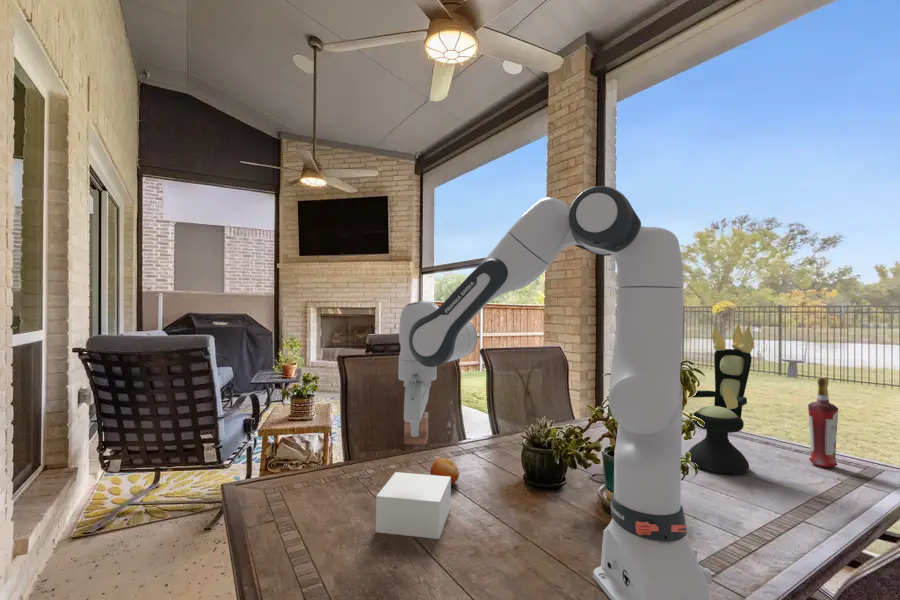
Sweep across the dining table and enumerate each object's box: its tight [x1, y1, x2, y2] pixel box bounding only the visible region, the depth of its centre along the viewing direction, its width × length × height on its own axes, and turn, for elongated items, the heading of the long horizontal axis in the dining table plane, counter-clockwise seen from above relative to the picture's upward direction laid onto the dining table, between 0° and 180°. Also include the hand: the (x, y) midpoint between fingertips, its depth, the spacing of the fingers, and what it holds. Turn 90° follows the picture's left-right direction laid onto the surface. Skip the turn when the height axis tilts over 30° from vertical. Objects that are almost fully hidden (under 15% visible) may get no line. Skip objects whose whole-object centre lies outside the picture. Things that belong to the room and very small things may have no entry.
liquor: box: [807, 376, 839, 469], centre depth 139 cm, size 7×7×28 cm
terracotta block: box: [403, 411, 429, 445], centre depth 100 cm, size 5×5×6 cm
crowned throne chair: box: [687, 323, 755, 475], centre depth 139 cm, size 19×22×45 cm
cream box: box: [375, 471, 452, 540], centre depth 100 cm, size 14×14×8 cm
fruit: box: [430, 457, 460, 487], centre depth 120 cm, size 8×8×8 cm
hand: (416, 431), depth 100 cm, fingers closed on terracotta block, 5 cm apart
